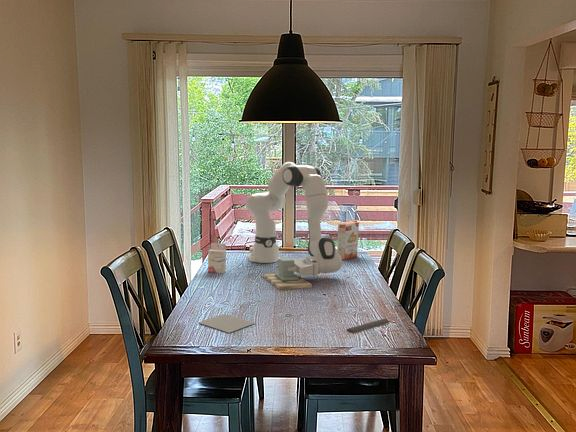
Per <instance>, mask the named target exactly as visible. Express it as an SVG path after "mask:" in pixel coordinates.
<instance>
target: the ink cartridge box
mask: <svg viewBox="0 0 576 432" xmlns="http://www.w3.org/2000/svg"><path fill="white" fill-rule="evenodd" d="M207 251H208V253H207V256H208V259H207V262H208V264H207V265H208V266H207V267H208V268H207V269H208V270H207V272H208V273H214V274H225V272H226V271H227V246H226V243H217V242H216V243H213V242H211V243H210V249H209V250H207Z"/></svg>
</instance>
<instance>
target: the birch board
mask: <svg viewBox="0 0 576 432" xmlns="http://www.w3.org/2000/svg"><path fill="white" fill-rule="evenodd" d="M275 273H276V272H268V273H262V277H263V278H264V279H265V280H267V281H268V282H269V283H270V284H271V285H273V286H274V287H275V288H277V290H279V291H285V290H296V289H308V288H309V289H310V288H312V287H313V285H312V283H310V282H309V281H307V280H306V279H304V278H303V277H301V276H300V274H298V273H297V272H294V275H295V276H297V277H298V280H294V281H281V280H280V279H279V278H277V277H276V276H275ZM277 273H279V271H278V272H277Z"/></svg>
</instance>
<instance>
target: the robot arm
mask: <svg viewBox="0 0 576 432" xmlns="http://www.w3.org/2000/svg"><path fill="white" fill-rule="evenodd" d="M321 172H322V171H321V170H320V169H319V167H317V166H314V165H308V164H299V165H296V163H294V162H292V161H287V162H286V161H285V163H283V164H282V165H280V167H279V168H278V169H277V170H276V171H275V173H274V174H273V176H272V177H271V178H270V180H269V181H268V183H267V188H268V190H267V191H265V192H254V193H253V194H252V193H251V194H250V195H248V196H247V197H246V200H245V206H246V209H247V210H248V212H250V213H251V214H252V216H253V219H254V222H255V236H254V243H253V244H252V246H251V248H249V250H248V253H250V254H247V258H248V261H249V262H252V263H253V262H254V263H260V264H269V263H271V264H272V263H276V262H279V258H282V257H280V251H279V250H280V249H279V245H278V244H277V236H276V226H277V225H276V222H275V220H274V219H272V218H271V216H270V212H276V211H279V210H281V209H283V208H284V207H286V202H287V201H286V197H285V195H286V193H287V192H288V190H289V189H290V188H291V187H296V188H299V187H302V188H303V190H304V193H305V194H304V195H305V201H306V203H305V204H306V207H307V208H306V209H307V210H306V211H307V224H308V244H307V252H308V255H309V256H306V257H305V259H302V258H292V259H293V260H294V267H287V271H294V273H296V274H298V275H301V276H314V277H315V276H318V274H331V273H335V272H338V271H340V269H341V268H342V265H343V259H342V258H341V256H340V255H339V254H338V253H337V249H336V243H335V242H334V240H333V239H332V238H331V237H329V236H324V237H322V230H321V229H322V228H321V220H322V217H323V215H324V213H326V211H327V209H328V207H329V198H328V191H327V187H326V184H325V181H324V178H323V176H322V173H321Z"/></svg>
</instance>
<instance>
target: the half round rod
mask: <svg viewBox="0 0 576 432" xmlns="http://www.w3.org/2000/svg"><path fill="white" fill-rule="evenodd" d="M386 323H388V324H390V320H389V319H388V318H382V319H378V320H377V319H376V320H374V321H370V322H367V323H363V324H360V325H355V326H352V327H348V328H346V331H348V332H350V333H352V334H357V333H360V332H363V331H366V330H370V329H374V328H377V327H381V326H384V324H385V325H387V324H386Z"/></svg>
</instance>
